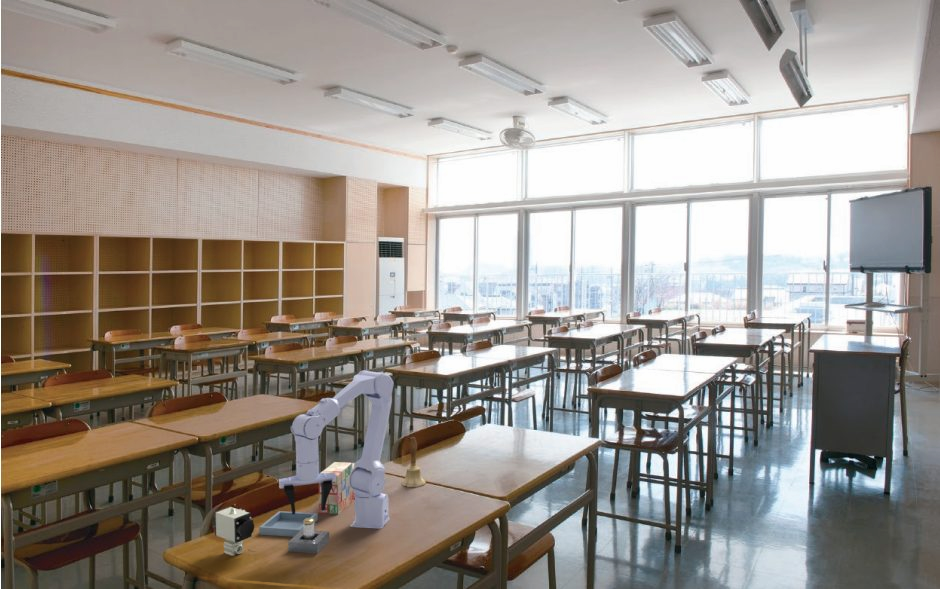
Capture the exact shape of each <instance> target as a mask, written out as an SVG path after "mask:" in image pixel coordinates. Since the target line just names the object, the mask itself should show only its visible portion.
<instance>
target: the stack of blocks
mask: <svg viewBox="0 0 940 589" xmlns="http://www.w3.org/2000/svg"><path fill="white" fill-rule="evenodd" d="M355 463H356V462H345V461H341V462H340V461H338V462H337V461H333V463H331V464H330V465H329V466H327V467H326V468H325V469H323V470H322V471H320V473H335V474H336V482H332V489H331V491H330V493H329V495H328V498H327V501H326V506H325V510H322V508H321V483H318V507H319V508H318V510H319V514H327V515H329V514H330V515H331V514H332V515H339V514H340V513H341V512H342V511H344V510H345V509H346V508H347V507H348V506H349V505H350V504H351V501H352V500H355V499H354V498H355V493H353V489H352V488H351V487H350V485H349V476H350V473H351V472H352V470H353V468H354V464H355ZM349 503H350V504H349ZM345 507H346V508H345Z"/></svg>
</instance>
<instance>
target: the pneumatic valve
mask: <svg viewBox="0 0 940 589" xmlns="http://www.w3.org/2000/svg"><path fill="white" fill-rule="evenodd" d="M211 525H212V527H213V528H214V535H215V536H217V537H219V538H221V539H224V542H223V548H224V550H223V553H224V554H226V555H229V556H236V555H240V554H241V553H243V552H244V545H243V543H244V540H247V539H249V538H251V537H252V536H253V535H252V534H253V533H254V531H255V523H254V519H252V513H251V512H247V511H246V510H245V509H242V508H239V509H238V508H234V507H232V506H228V507H224V508H221V509H219V510H217V511H214V515H213V517H212V519H211Z"/></svg>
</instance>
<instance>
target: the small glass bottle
mask: <svg viewBox="0 0 940 589" xmlns="http://www.w3.org/2000/svg"><path fill="white" fill-rule="evenodd" d="M303 530H304V540H314V539H315V536H314V531H315V523H314V519H313V518H306V519H304V520H303Z"/></svg>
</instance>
